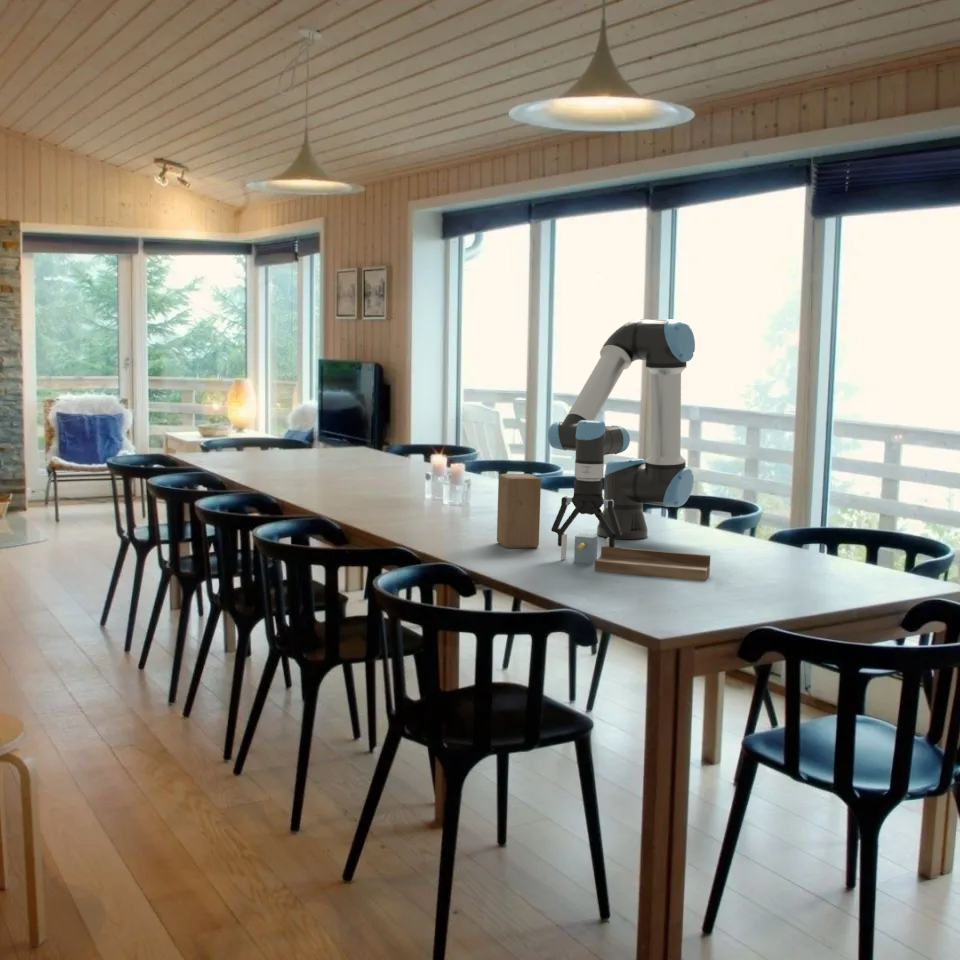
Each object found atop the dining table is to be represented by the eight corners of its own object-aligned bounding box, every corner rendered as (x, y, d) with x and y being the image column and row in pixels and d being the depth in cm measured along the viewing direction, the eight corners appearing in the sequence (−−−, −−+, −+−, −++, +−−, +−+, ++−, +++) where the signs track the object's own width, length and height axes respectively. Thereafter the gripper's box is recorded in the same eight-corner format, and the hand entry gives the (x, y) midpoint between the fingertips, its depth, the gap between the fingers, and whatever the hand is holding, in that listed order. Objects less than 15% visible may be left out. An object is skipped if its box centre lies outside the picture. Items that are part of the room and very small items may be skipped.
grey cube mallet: (578, 559, 307) (579, 533, 306) (596, 560, 305) (597, 534, 304) (569, 565, 297) (570, 539, 296) (588, 567, 296) (589, 540, 295)
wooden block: (505, 549, 318) (507, 477, 315) (495, 542, 327) (497, 473, 325) (539, 548, 321) (542, 477, 318) (528, 541, 330) (531, 473, 328)
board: (601, 564, 299) (602, 546, 299) (709, 574, 291) (710, 555, 290) (594, 570, 292) (595, 551, 291) (705, 580, 283) (706, 560, 282)
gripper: (541, 477, 301) (538, 559, 304) (630, 483, 294) (626, 567, 296) (548, 474, 308) (546, 554, 311) (635, 480, 301) (632, 562, 303)
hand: (585, 560), depth 304 cm, fingers open, 11 cm apart
